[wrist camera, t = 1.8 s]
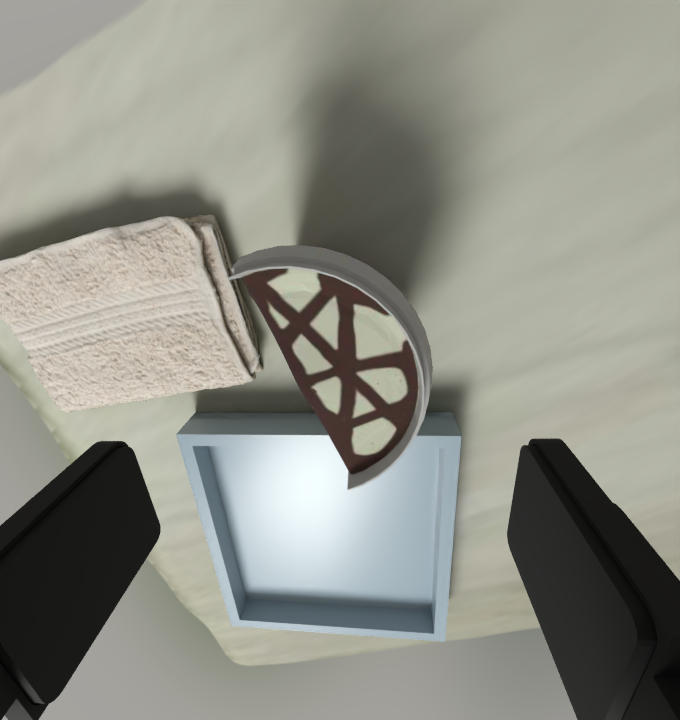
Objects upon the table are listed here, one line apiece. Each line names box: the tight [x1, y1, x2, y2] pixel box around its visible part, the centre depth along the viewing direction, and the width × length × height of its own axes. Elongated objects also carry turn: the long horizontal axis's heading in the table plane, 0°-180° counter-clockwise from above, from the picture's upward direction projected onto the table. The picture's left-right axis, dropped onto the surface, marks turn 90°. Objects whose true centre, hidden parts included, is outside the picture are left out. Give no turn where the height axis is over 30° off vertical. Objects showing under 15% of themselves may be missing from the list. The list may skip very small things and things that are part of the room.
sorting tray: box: [176, 412, 461, 641], centre depth 31 cm, size 20×22×3 cm
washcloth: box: [0, 214, 263, 412], centre depth 25 cm, size 12×18×3 cm, turn 104°
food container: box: [228, 245, 433, 491], centre depth 20 cm, size 12×6×10 cm, turn 25°
